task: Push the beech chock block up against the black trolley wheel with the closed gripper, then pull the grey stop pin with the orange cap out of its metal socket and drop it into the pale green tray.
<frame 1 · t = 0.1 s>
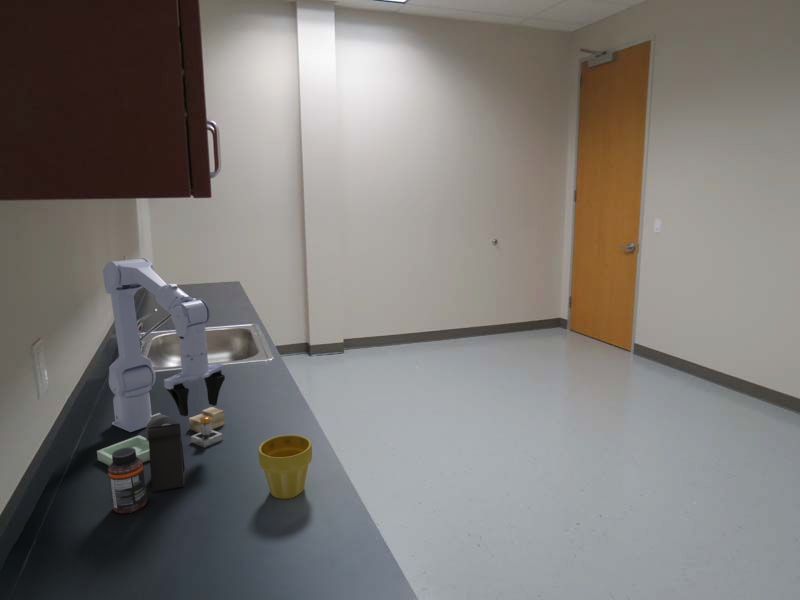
hand: (198, 409, 125), 10 cm above the counter, tool pointing down, fingers open, 7 cm apart
stop pin: (206, 429, 131), in the pin socket
pin socket: (207, 441, 132), on the counter
tray: (130, 457, 124), on the counter
supplement bottle: (130, 507, 104), on the counter
plant pot: (287, 491, 108), on the counter
chock block: (207, 427, 140), on the counter
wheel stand: (163, 444, 130), on the counter
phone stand: (169, 480, 113), on the counter
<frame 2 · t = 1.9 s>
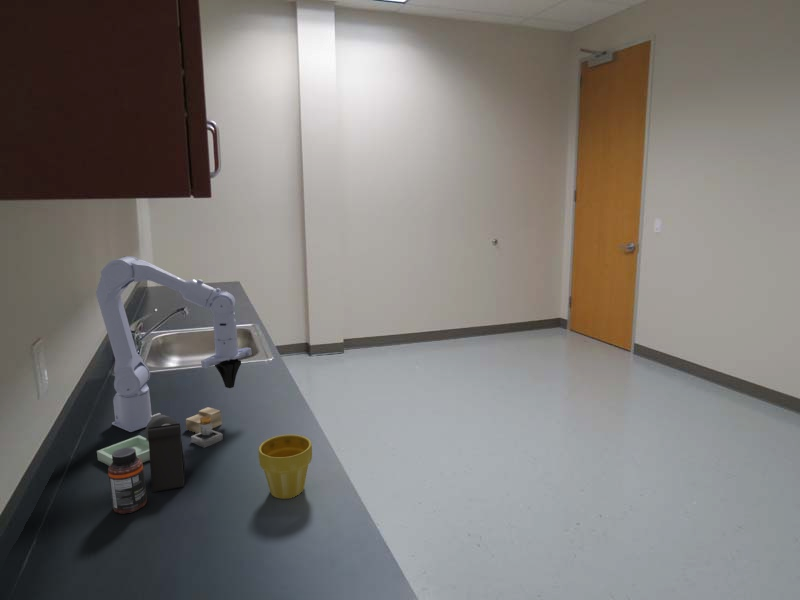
hand: (229, 387, 145), 9 cm above the counter, tool pointing down, fingers closed
nothing on the counter moved.
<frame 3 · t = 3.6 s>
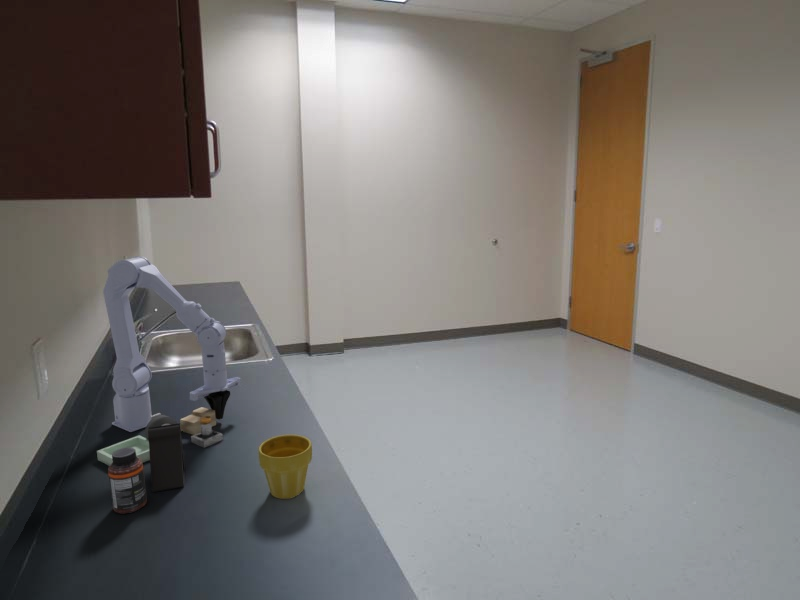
hand: (218, 418, 143), 1 cm above the counter, tool pointing down, fingers closed
chock block: (198, 427, 139), on the counter, touching gripper
everything else where it was.
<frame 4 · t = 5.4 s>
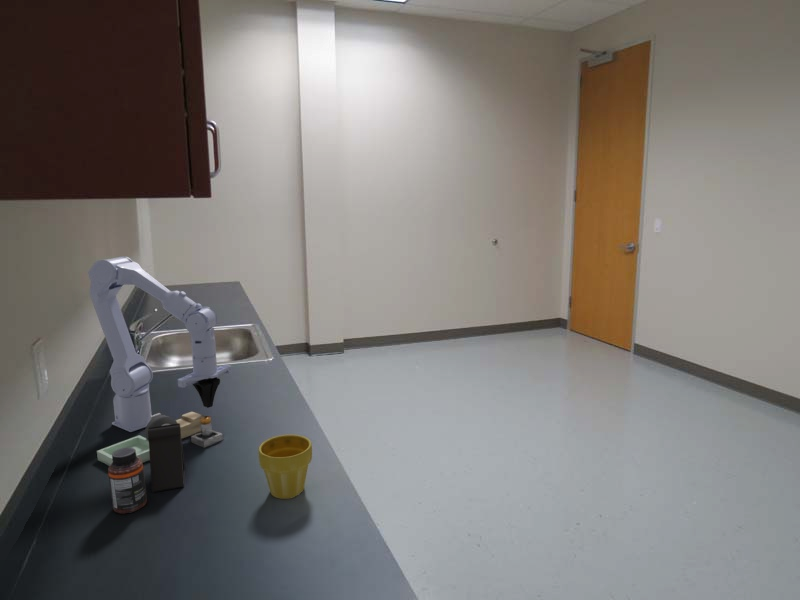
hand: (208, 406, 140), 5 cm above the counter, tool pointing down, fingers closed
chock block: (187, 432, 137), on the counter
everything else where it was.
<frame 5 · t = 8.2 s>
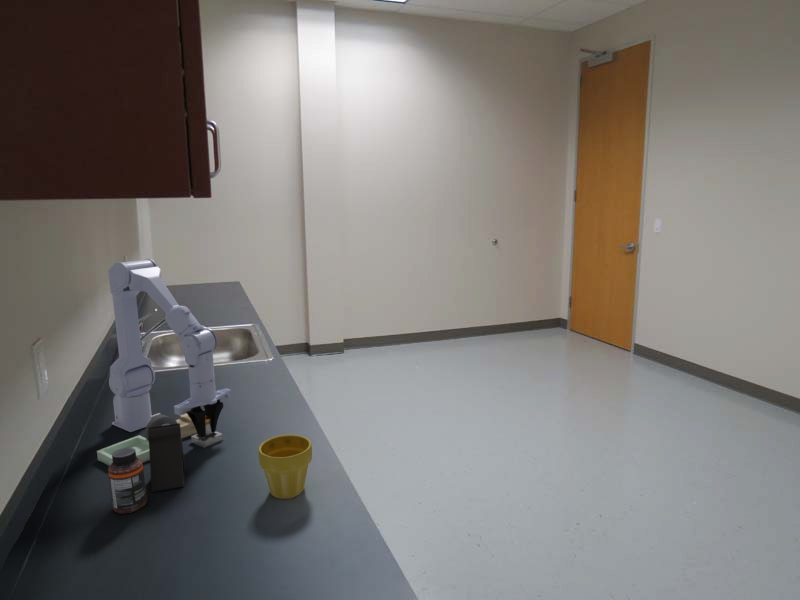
hand: (206, 433, 131), 2 cm above the counter, tool pointing down, fingers closed on stop pin, 2 cm apart
stop pin: (206, 429, 131), in the pin socket, touching gripper
everything else where it was.
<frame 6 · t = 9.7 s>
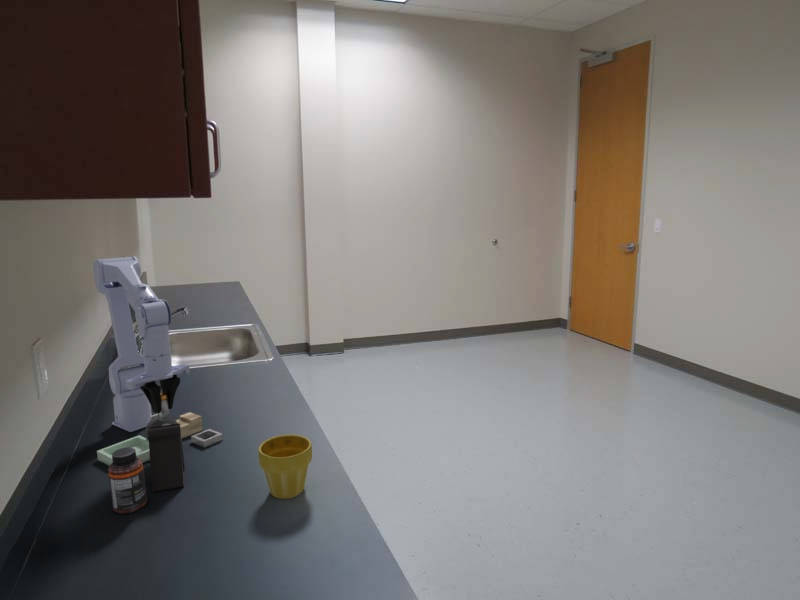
hand: (162, 410, 126), 10 cm above the counter, tool pointing down, fingers closed on stop pin, 2 cm apart
stop pin: (162, 406, 125), point 11 cm above the counter, touching gripper
everything else where it was.
when the fingers open (4 cm above the counter, at t = 11.0 s): stop pin drops 1 cm, resting on tray.
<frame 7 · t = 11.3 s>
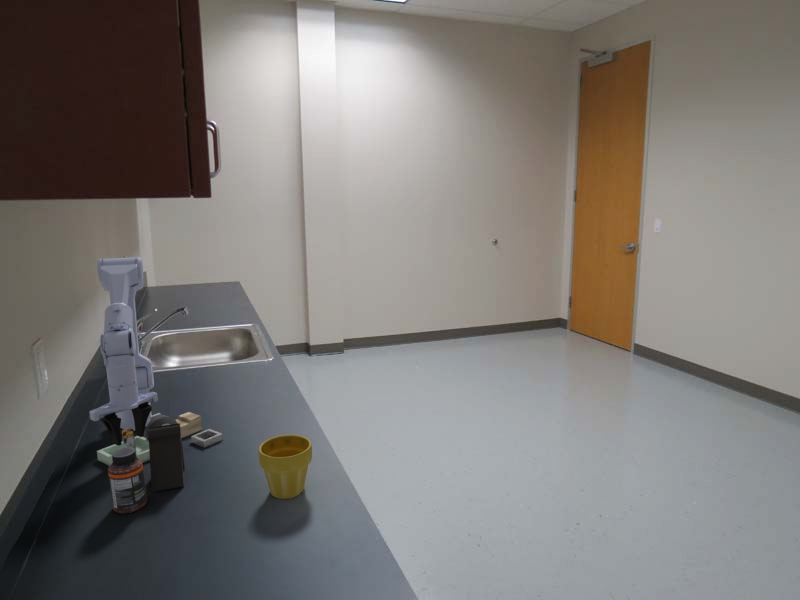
hand: (129, 440, 123), 4 cm above the counter, tool pointing down, fingers open, 5 cm apart
stop pin: (129, 442, 123), in the tray, point 4 cm above the counter
everything else where it was.
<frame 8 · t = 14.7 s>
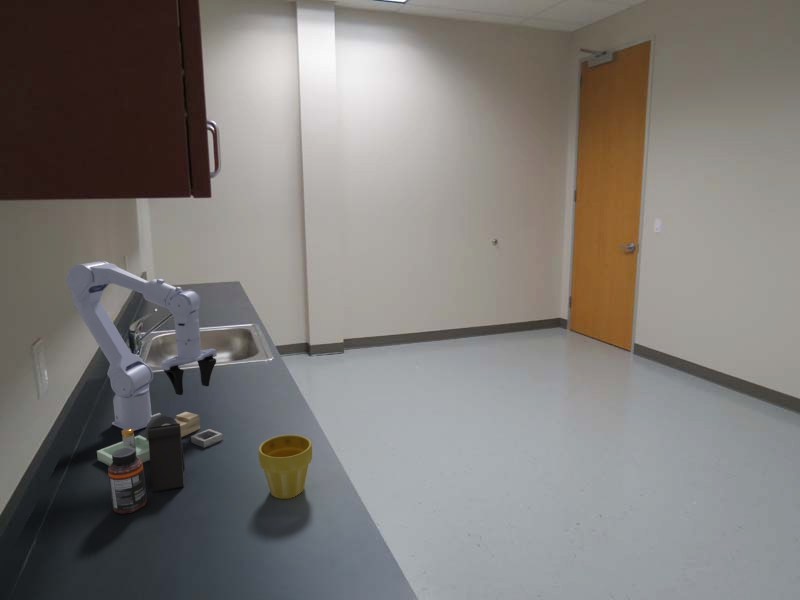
hand: (192, 389, 139), 10 cm above the counter, tool pointing down, fingers open, 7 cm apart
at the end: chock block 2.7 cm from the target spot, on the counter; stop pin inside the target area on the tray (0.2 cm from its centre), point 3.6 cm above the tray's base; the gripper is holding nothing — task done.
